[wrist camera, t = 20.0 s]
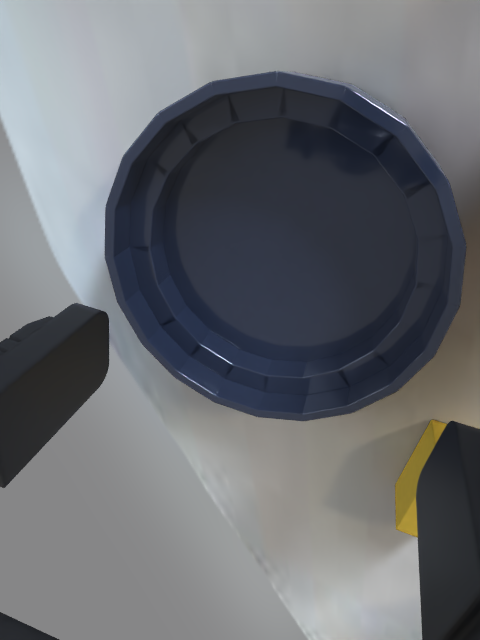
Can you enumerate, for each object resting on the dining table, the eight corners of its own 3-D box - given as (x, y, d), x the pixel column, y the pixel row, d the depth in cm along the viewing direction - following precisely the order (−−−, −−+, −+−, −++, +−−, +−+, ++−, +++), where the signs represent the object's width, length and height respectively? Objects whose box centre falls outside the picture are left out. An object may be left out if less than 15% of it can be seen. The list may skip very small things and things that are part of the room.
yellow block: (431, 418, 30) (436, 461, 27) (501, 440, 29) (515, 488, 26) (394, 484, 34) (395, 530, 30) (456, 506, 33) (463, 554, 30)
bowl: (521, 119, 21) (550, 129, 17) (383, 413, 31) (382, 460, 27) (151, 40, 24) (107, 34, 20) (134, 332, 34) (102, 364, 30)
